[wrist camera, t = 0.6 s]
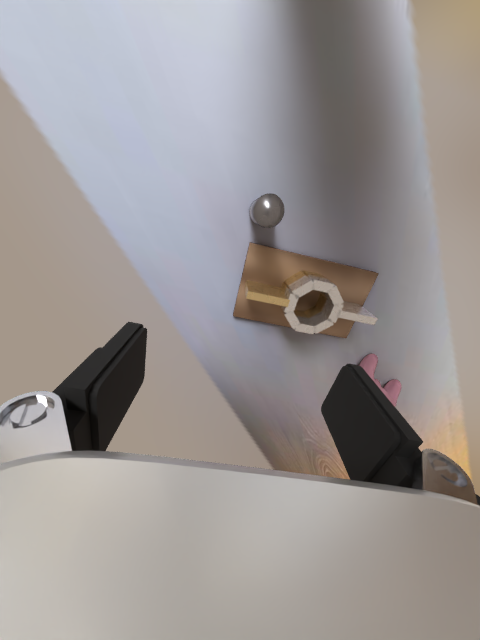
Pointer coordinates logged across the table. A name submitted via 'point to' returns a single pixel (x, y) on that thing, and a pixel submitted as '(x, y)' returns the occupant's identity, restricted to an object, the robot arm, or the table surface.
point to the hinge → (316, 316)
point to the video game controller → (389, 389)
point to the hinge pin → (267, 210)
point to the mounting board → (283, 264)
